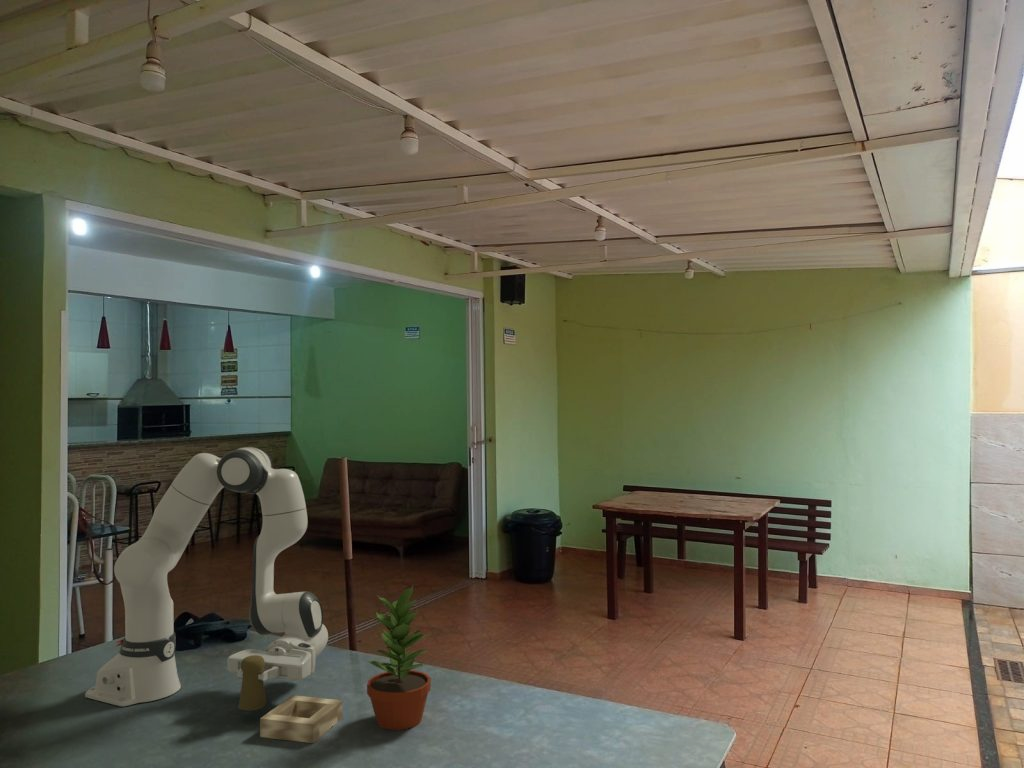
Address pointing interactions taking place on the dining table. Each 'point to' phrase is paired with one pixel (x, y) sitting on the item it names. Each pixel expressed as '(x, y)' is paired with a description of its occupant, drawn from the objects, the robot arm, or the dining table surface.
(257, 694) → the cork
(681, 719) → the dining table surface
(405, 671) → the potted plant
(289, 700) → the socket block
